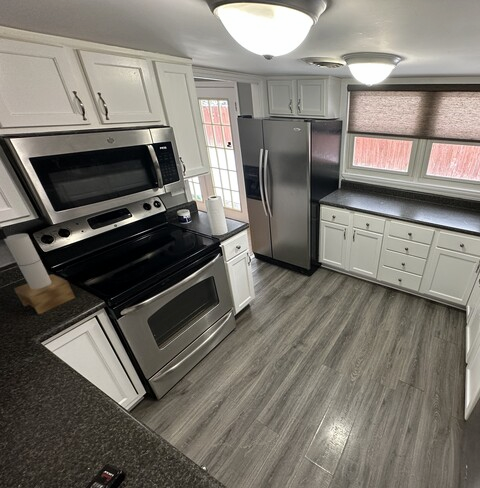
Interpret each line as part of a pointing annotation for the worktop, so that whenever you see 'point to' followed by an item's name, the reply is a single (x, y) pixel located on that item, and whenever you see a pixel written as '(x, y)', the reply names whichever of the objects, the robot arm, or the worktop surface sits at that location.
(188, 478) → the worktop surface
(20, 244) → the cylindrical container
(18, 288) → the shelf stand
